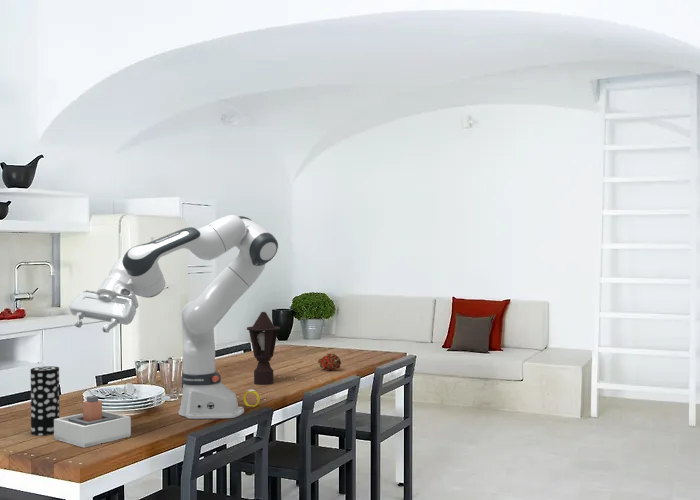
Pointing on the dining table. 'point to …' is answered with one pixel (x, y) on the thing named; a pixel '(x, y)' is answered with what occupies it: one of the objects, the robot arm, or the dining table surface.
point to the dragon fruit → (330, 362)
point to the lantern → (263, 348)
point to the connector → (92, 409)
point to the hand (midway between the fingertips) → (91, 328)
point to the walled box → (92, 429)
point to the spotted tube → (44, 399)
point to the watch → (256, 396)
